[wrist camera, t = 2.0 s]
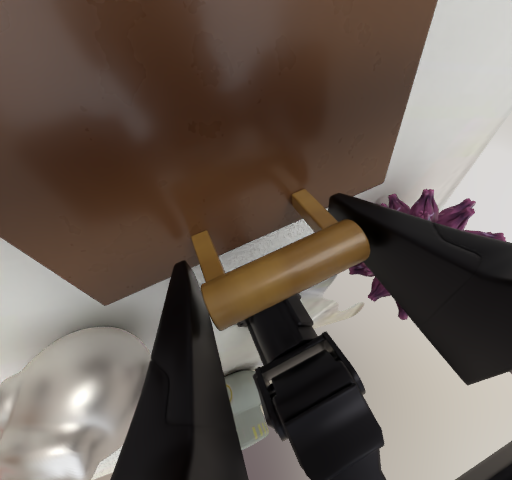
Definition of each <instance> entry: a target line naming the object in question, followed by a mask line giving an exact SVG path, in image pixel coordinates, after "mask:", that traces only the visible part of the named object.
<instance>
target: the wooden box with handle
mask: <svg viewBox="0 0 512 480" xmlns="http://www.w3.org/2000/svg"><path fill="white" fill-rule="evenodd" d="M437 1H438V0H0V237H1V238H2V239H4V240H5V241H7V242H8V243H10V244H11V245H13V246H14V247H16V248H17V249H19V250H20V251H22V252H23V253H25V254H27V255H28V256H30V257H31V258H33V259H34V260H36V261H37V262H39V263H40V264H42V265H43V266H45V267H46V268H48V269H49V270H51V271H52V272H54V273H55V274H57V275H58V276H60V277H62V278H63V279H65V280H66V281H68V282H69V283H71V284H72V285H74V286H75V287H77V288H78V289H80V290H81V291H83V292H84V293H86V294H87V295H89V296H90V297H92V298H93V299H95V300H97V301H98V302H100V303H101V304H103V305H104V306H106V305H109V304H111V303H113V302H115V301H118V300H120V299H122V298H124V297H127V296H129V295H131V294H133V293H136V292H138V291H140V290H142V289H145V288H147V287H149V286H151V285H154V284H156V283H158V282H160V281H163V280H165V279H167V278H170V277H171V275H172V271H173V267H174V265H175V264H176V263H178V262H180V261H183V260H185V261H186V262H187V263H188V265H189V266H190V268H192V267H194V266H197V265H199V264H200V267H201V270H202V273H203V276H204V279H205V282H206V283H204V284H202V285H201V292H202V296H203V300H204V302H205V305H206V308H207V310H208V313H209V315H210V317H211V319H212V321H213V323H214V324H215V326H216V328H217V329H218V330H219V331H222V330H224V329H226V328H228V327H230V326H232V325H234V324H236V323H238V322H240V321H242V320H245V319H247V318H249V317H251V316H253V315H255V314H257V313H259V312H261V311H263V310H265V309H267V308H269V307H271V306H273V305H275V304H277V303H279V302H281V301H283V300H285V299H287V298H289V297H291V296H293V295H295V294H298V293H300V292H302V291H304V290H306V289H308V288H310V287H312V286H314V285H316V284H318V283H320V282H322V281H324V280H326V279H328V278H330V277H332V276H334V275H336V274H338V273H340V272H342V271H344V270H346V269H348V268H351V267H353V266H355V265H357V264H359V263H361V262H363V261H365V260H366V259H367V258H368V257H369V255H370V245H369V242H368V239H367V237H366V235H365V233H364V232H363V230H362V229H361V228H360V227H359V226H358V225H357V224H356V223H355V222H354V221H352V220H349V219H344V220H342V221H340V222H338V221H337V220H336V219H335V218H334V217H333V216H332V215H331V214H330V213H329V212H328V211H327V210H326V209H325V208H328V205H329V198H330V196H332V195H334V194H336V193H343V194H346V195H349V196H352V197H353V196H355V195H357V194H359V193H362V192H364V191H366V190H368V189H371V188H373V187H375V186H377V185H380V184H382V183H383V182H384V180H385V176H386V173H387V170H388V166H389V163H390V159H391V156H392V153H393V149H394V146H395V143H396V139H397V136H398V132H399V129H400V126H401V122H402V119H403V116H404V112H405V109H406V105H407V102H408V99H409V95H410V92H411V89H412V85H413V82H414V78H415V75H416V72H417V68H418V65H419V62H420V58H421V55H422V52H423V48H424V45H425V41H426V38H427V35H428V31H429V28H430V25H431V21H432V18H433V14H434V11H435V8H436V4H437ZM301 219H304V220H305V221H306V222H307V224H308V225H309V226H310V227H311V228H312V229H313V231H314V232H315V233H313V234H311V235H309V236H307V237H304V238H302V239H300V240H298V241H296V242H294V243H291V244H289V245H287V246H285V247H283V248H280V249H278V250H276V251H274V252H272V253H269V254H267V255H265V256H263V257H261V258H258V259H256V260H254V261H252V262H250V263H247V264H245V265H243V266H241V267H239V268H236V269H234V270H232V271H230V272H228V273H225V271H224V269H223V266H222V264H221V261H220V259H219V255H222V254H224V253H226V252H228V251H231V250H233V249H235V248H237V247H240V246H242V245H244V244H246V243H249V242H251V241H253V240H255V239H258V238H260V237H262V236H264V235H267V234H269V233H271V232H274V231H276V230H278V229H280V228H283V227H285V226H287V225H289V224H292V223H294V222H296V221H298V220H301Z"/></svg>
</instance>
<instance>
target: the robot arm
mask: <svg viewBox="0 0 512 480" xmlns="http://www.w3.org/2000/svg"><path fill="white" fill-rule="evenodd" d="M328 212H329V213H330V214H331V215H332V216H333V217H334V218H335V219H336V220H337V221H338V222H340V221H342V220H344V219H349V220H352V221H354V222H355V223H356V224H357V225H358V226H359V227H360V228H361V229H362V230H363V232H364V233H365V235H366V237H367V239H368V242H369V245H370V255H369V257H368V258H367V259H366V260H365V261H363V262H364V264H365V265H366V266H367V267H368V268H369V270H370V271H371V272H372V273H373V274H374V276H375V277H376V278H377V279H378V280H379V282H380V283H381V284H382V285H383V286H384V287H385V289H386V290H387V291H388V292H389V293H390V295H392V297H393V298H394V299H395V301H396V302H397V303H398V304H399V305H400V306H401V308H402V309H403V310H404V311H405V312H406V314H407V315H408V316H409V317H410V318H411V320H412V321H413V322H414V323H415V324H416V325H417V327H418V328H419V329H420V330H421V332H422V333H423V334H424V335H425V336H426V338H427V339H428V340H429V341H430V342H431V344H432V345H433V346H434V347H435V348H436V349H437V351H438V352H439V353H440V354H441V355H442V357H443V358H444V359H445V360H446V361H447V363H448V364H449V365H450V366H451V367H452V369H453V370H454V371H455V372H456V373H457V374H458V375H459V377H460V378H461V379H462V380H463V381H464V382H465V383H466V384H467V385H470V384H473V383H476V382H479V381H482V380H485V379H488V378H491V377H494V376H497V375H500V374H503V373H506V372H510V373H511V374H512V243H510V242H506V241H501V240H497V239H493V238H489V237H485V236H481V235H477V234H473V233H469V232H466V231H462V230H458V229H455V228H452V227H448V226H445V225H442V224H438V223H435V222H433V223H432V221H429V220H425V219H422V218H419V217H416V216H413V215H410V214H406V213H403V212H400V211H397V210H394V209H390V208H387V207H384V206H381V205H378V204H374V203H371V202H368V201H365V200H362V199H359V198H355V197H352V196H349V195H346V194H343V193H336V194H334V195H332V196H330V198H329V205H328ZM300 299H301V296H300V294H295V295H293V296H291V297H289V298H287V299H285V300H283V301H281V302H279V303H277V304H275V305H273V306H271V307H269V308H267V309H265V310H263V311H261V312H259V313H257V314H255V315H253V316H251V317H249V318H247V319H245V320H242V321H240V322H238V323H237V325H238V327H248V329H249V331H250V334H251V336H252V338H253V341H254V343H255V346H256V348H257V351H258V353H259V355H260V358H261V360H262V363H263V365H264V366H262V367H258V368H256V369H255V371H256V373H255V374H254V375H253V379H254V382H255V385H256V387H257V390H258V393H259V397H260V400H261V404H262V408H263V411H264V415H265V419H266V422H267V424H268V426H270V427H272V428H274V429H275V431H276V433H278V434H279V436H280V438H281V440H282V441H285V440H286V439H289V441H290V443H291V445H292V448H293V450H294V452H295V455H296V457H297V459H298V462H299V464H300V466H301V467H302V469H303V470H304V471H305V473H306V475H307V476H308V477H309V478H310V479H311V480H386V478H385V477H384V475H383V473H382V471H381V464H380V451H379V448H381V447H383V446H384V440H383V435H382V430H381V427H380V426H379V424H378V423H377V421H376V419H375V417H374V415H373V413H372V412H371V410H370V408H369V406H368V404H367V403H366V401H365V399H364V397H363V394H365V388H364V386H363V384H362V381H361V380H360V378H359V376H358V374H357V372H356V371H355V369H354V368H353V366H352V365H351V364H350V362H349V361H348V360H347V358H346V357H345V356H344V354H343V353H342V352H341V350H340V349H339V348H338V346H337V345H336V344H335V342H334V341H333V340H332V338H331V337H330V336H329V335H328V333H327V332H324V333H322V335H320V336H317V334H316V333H315V331H314V329H313V328H312V325H313V321H312V319H311V318H310V316H309V314H308V313H307V311H306V309H305V308H304V306H303V305H302V303H301V301H300ZM270 380H272V384H270V383H269V381H270ZM110 480H248V476H247V471H246V467H245V463H244V459H243V454H242V450H241V446H240V442H239V437H238V433H237V431H236V425H235V421H234V417H233V412H232V408H231V404H230V400H229V395H228V391H227V387H226V383H225V378H224V374H223V370H222V366H221V362H220V357H219V353H218V349H217V345H216V340H215V336H214V332H213V328H212V323H211V319H210V315H209V313H208V310H207V308H206V305H205V302H204V300H203V296H202V292H201V289H200V287H199V284H198V281H197V279H196V276H195V274H194V272H193V270H192V269H191V268H190V266H189V265H188V263H187V262H186V261H185V260H183V261H180V262H178V263H176V264H175V265H174V267H173V271H172V275H171V279H170V283H169V287H168V291H167V295H166V299H165V303H164V307H163V311H162V315H161V319H160V322H159V326H158V330H157V334H156V338H155V342H154V346H153V350H152V354H151V360H150V361H149V365H148V369H147V373H146V377H145V381H144V384H143V388H142V391H141V394H140V397H139V400H138V403H137V406H136V409H135V412H134V415H133V418H132V421H131V424H130V427H129V430H128V432H127V435H126V438H125V441H124V444H123V446H122V449H121V452H120V455H119V458H118V461H117V463H116V466H115V469H114V472H113V474H112V477H111V479H110ZM456 480H512V441H511V442H510V443H508V444H507V445H505V446H504V447H502V448H501V449H499V450H498V451H497V452H495V453H494V454H492V455H491V456H489V457H488V458H486V459H485V460H483V461H482V462H480V463H479V464H478V465H476V466H475V467H473V468H472V469H470V470H469V471H467V472H466V473H464V474H463V475H461V476H460V477H459V478H457V479H456Z"/></svg>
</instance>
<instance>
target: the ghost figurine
mask: <svg viewBox="0 0 512 480" xmlns="http://www.w3.org/2000/svg"><path fill="white" fill-rule="evenodd" d="M150 360H151V354H150V352H149V350H148V348H147V347H146V346H145V344H144V343H143V342H142V341H141V340H140V339H139V338H138V337H136V336H135V335H133V334H132V333H130V332H128V331H125V330H122V329H119V328H114V327H92V328H86V329H82V330H79V331H76V332H73V333H70V334H68V335H66V336H64V337H62V338H60V339H58V340H57V341H55V342H54V343H52V344H51V345H49V346H48V347H47V348H45V349H44V350H43V351H42V352H40V353H39V354H38V355H37V356H36V357H34V358H33V359H32V360H31V361H30V362H29V363H28V365H27V366H26V367H25V368H24V369H23V370H22V371H20V372H19V373H17V374H15V375H13V376H11V377H9V378H7V379H6V380H4V381H3V382H2V383H1V384H0V480H91V478H92V477H93V475H94V473H95V471H96V469H97V466H98V465H99V463H100V462H101V461H102V460H104V459H106V458H107V457H109V456H110V455H111V454H113V453H114V452H115V451H116V450H118V449H119V448H120V447H121V446H122V445H123V444H124V441H125V438H126V435H127V432H128V430H129V427H130V424H131V421H132V418H133V415H134V412H135V409H136V406H137V403H138V400H139V397H140V394H141V391H142V388H143V384H144V381H145V377H146V373H147V369H148V365H149V361H150Z"/></svg>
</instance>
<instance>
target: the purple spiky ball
mask: <svg viewBox="0 0 512 480" xmlns="http://www.w3.org/2000/svg"><path fill="white" fill-rule="evenodd" d="M388 198H389V207H388V206H387V205H386V204H384V203H382V204H381V206H384V207H387V208H390V209H394V210H397V211H400V212H403V213H406V214H410V215H413V216H416V217H419V218H422V219H425V220H429V221H432V223H433V222H435V223H438V224H442V225H445V226H448V227H452V228H455V229H458V230H462V231H466V232H469V233H473V234H477V235H481V236H485V237H489V238H493V239H497V240H501V241H505V237H503V233H495V234H492V233H491V232H487V233H485V232H480V231H469V230H464V228H465V226H466V224H467V222H468V219H469V218H470V217H471V216H472V215H473V214H474V213H475V212H474V209H472V207H473V206H474V205H475V203H476V202H475V201H471V200H470V199H465V200H464V201H463V202H461V203H460V204H458V205H456V206H453V207H449V208H447V209H444V210H442V211H441V212H440V213H439V209H438V206H437V205H436V202H435V200H434V190H431V189H430V190H427V189H426V190H425V189H424V190H423V192H422V195H421V197H420V199H419V200H417V202H416V203H415V204H414V205H413V206H412V207H411V209H410V207H409V206H408V205H406V204H405V203H404V202H402V201H400V200H399V199H398V197H397V195H396V194H392V195H389V197H388ZM349 270H350V273H349V274H352V275H353V274H360V275H364V276H369V277H372V276H374V274H373V273H372V272H371V271H370V270H369V268H368V267H367V266H366V265H365V264H364V262H361V263H359V264H357V265H355V266H353V267H351V268H349ZM386 296H390V293H389V292H388V291H387V290H386V289H385V287H384V286H383V285H382V284H381V283H380V282H379V280H378V279H377V278H376V277H375V278H374V279H373V282H372V290H371V293H370V294H369V295H368V298H370V299H371V300H373V301H376V300H377V299H379V298H381V297H386ZM396 304H397V306H398V309H399V315H398V317H399V318H400V319H402V320H405V319H407V317H408V315H407V314H406V312H405V311H404V310H403V309H402V308H401V306H400V305H399V304H398V303H397V302H396Z"/></svg>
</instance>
